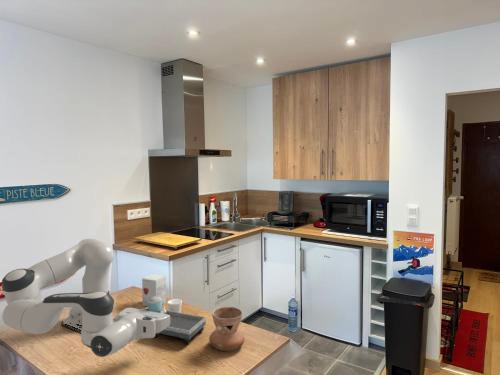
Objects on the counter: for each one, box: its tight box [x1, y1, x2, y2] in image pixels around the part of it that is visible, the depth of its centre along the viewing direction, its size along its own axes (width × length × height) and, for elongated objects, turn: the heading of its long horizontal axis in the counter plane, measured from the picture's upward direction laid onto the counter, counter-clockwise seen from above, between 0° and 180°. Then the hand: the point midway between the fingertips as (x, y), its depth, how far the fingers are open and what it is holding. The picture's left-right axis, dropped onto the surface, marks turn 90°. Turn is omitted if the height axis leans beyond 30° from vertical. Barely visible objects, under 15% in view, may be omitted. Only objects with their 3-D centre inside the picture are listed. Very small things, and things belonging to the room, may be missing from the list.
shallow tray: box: [154, 309, 207, 345], centre depth 153 cm, size 20×14×6 cm
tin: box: [148, 296, 163, 313], centre depth 137 cm, size 5×5×11 cm
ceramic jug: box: [208, 306, 246, 352], centre depth 144 cm, size 18×14×14 cm
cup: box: [162, 298, 183, 313], centre depth 170 cm, size 7×10×8 cm
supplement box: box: [141, 273, 167, 308], centre depth 185 cm, size 9×9×15 cm
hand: (156, 310), depth 138 cm, fingers closed on tin, 5 cm apart
